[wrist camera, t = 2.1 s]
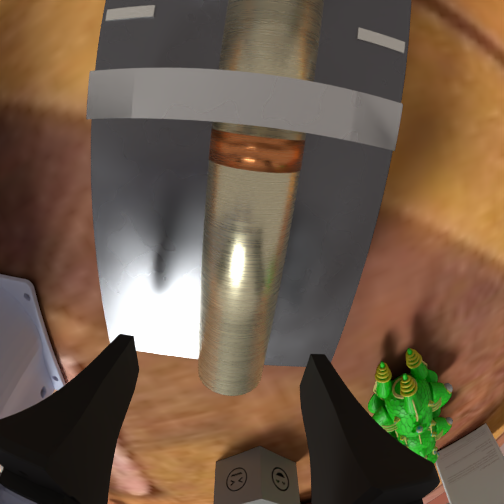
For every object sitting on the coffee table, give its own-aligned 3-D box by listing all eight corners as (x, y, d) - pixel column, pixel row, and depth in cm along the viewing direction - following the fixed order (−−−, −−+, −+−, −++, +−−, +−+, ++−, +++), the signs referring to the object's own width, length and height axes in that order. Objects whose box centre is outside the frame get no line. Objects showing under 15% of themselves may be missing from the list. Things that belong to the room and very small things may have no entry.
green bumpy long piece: (386, 457, 25) (396, 491, 21) (336, 360, 18) (352, 417, 14) (445, 430, 24) (458, 462, 20) (434, 312, 17) (467, 360, 13)
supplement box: (436, 468, 29) (461, 543, 17) (432, 452, 26) (461, 542, 14) (485, 440, 27) (515, 512, 16) (487, 420, 24) (526, 504, 13)
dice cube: (253, 476, 25) (254, 520, 21) (215, 461, 24) (213, 509, 19) (295, 462, 24) (300, 509, 19) (259, 445, 22) (261, 498, 18)
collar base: (325, 354, 17) (346, 438, 12) (116, 334, 17) (81, 413, 11) (402, -52, 8) (467, -98, 3) (138, -82, 7) (92, -143, 2)
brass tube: (247, 345, 16) (271, 387, 14) (190, 355, 15) (208, 401, 13) (296, 2, 9) (344, -14, 7) (220, -15, 8) (253, -44, 6)
